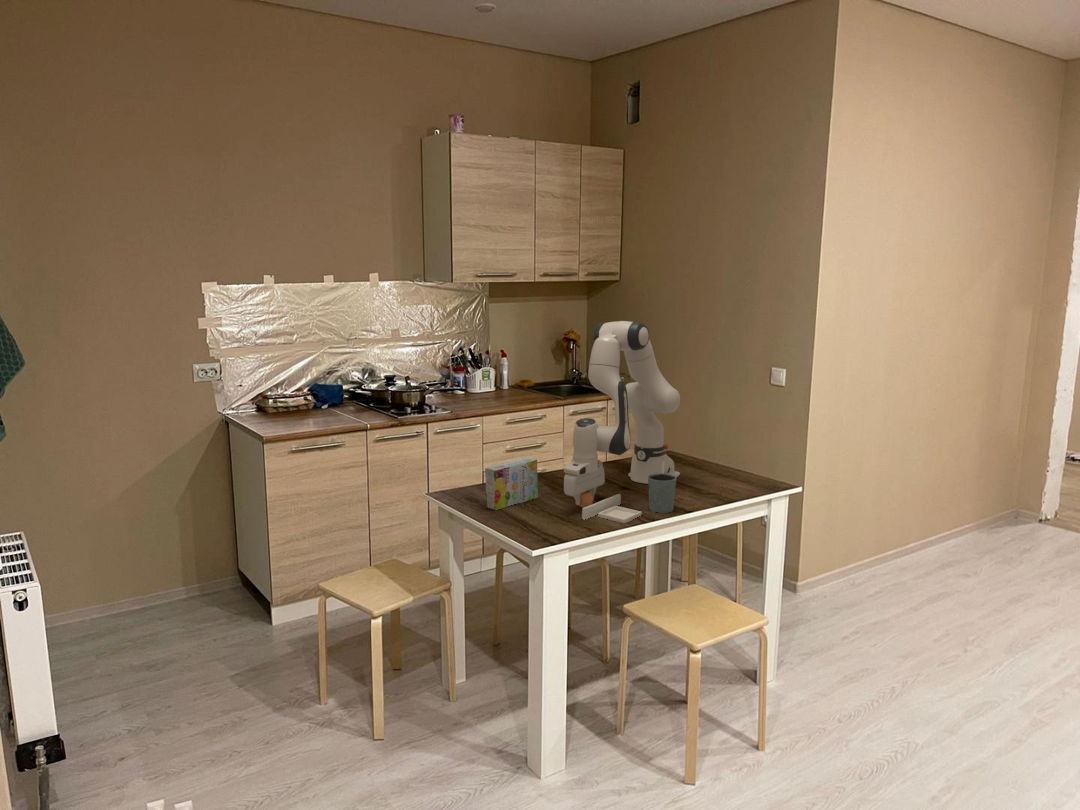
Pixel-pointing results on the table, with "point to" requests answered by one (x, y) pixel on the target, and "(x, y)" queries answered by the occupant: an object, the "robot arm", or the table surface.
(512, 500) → the snack box
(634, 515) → the square tray
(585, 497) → the ball
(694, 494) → the table surface
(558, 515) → the table surface
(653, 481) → the grey green cup
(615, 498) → the low wall
